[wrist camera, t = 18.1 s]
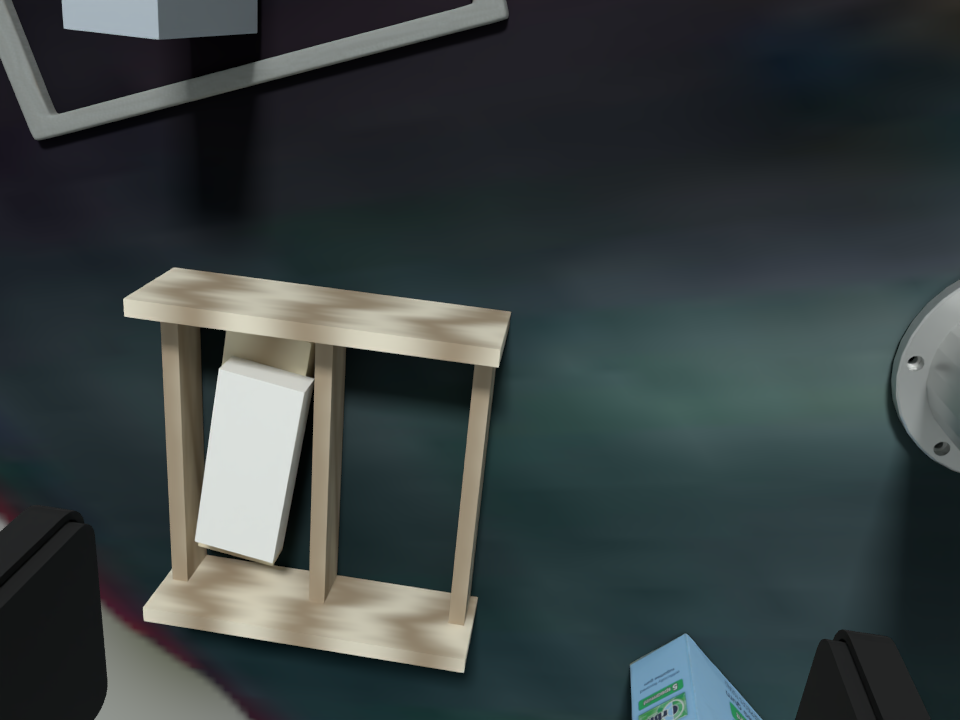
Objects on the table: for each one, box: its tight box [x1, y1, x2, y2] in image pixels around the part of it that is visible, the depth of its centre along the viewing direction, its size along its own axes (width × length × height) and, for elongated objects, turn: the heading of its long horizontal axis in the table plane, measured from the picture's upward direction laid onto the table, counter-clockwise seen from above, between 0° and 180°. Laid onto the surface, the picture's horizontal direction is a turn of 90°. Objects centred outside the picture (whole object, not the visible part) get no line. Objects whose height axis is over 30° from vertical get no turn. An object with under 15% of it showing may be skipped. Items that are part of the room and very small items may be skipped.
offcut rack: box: [123, 268, 511, 673], centre depth 52 cm, size 20×21×6 cm
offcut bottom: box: [198, 330, 315, 566], centre depth 54 cm, size 5×16×2 cm, turn 166°
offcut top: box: [195, 356, 315, 563], centre depth 52 cm, size 5×12×2 cm, turn 166°
